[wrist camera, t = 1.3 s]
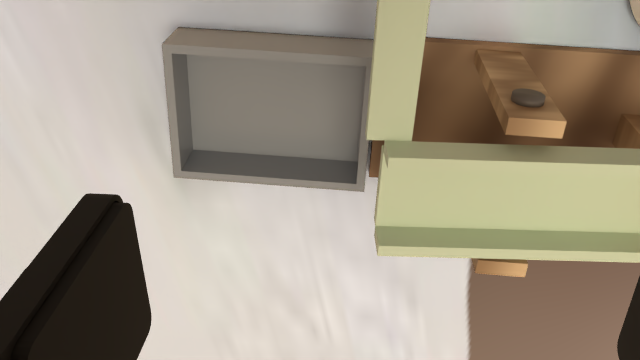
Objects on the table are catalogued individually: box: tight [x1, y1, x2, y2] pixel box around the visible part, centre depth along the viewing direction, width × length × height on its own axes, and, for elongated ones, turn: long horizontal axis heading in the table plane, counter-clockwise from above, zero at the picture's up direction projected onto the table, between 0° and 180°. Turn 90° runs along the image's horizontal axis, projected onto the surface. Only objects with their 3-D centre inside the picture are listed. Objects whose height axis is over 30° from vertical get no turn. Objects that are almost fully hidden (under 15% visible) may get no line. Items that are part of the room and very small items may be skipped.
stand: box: [369, 37, 640, 277], centre depth 40 cm, size 20×11×12 cm, turn 87°
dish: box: [162, 27, 374, 192], centre depth 44 cm, size 10×14×4 cm
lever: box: [365, 0, 640, 262], centre depth 33 cm, size 22×16×4 cm
